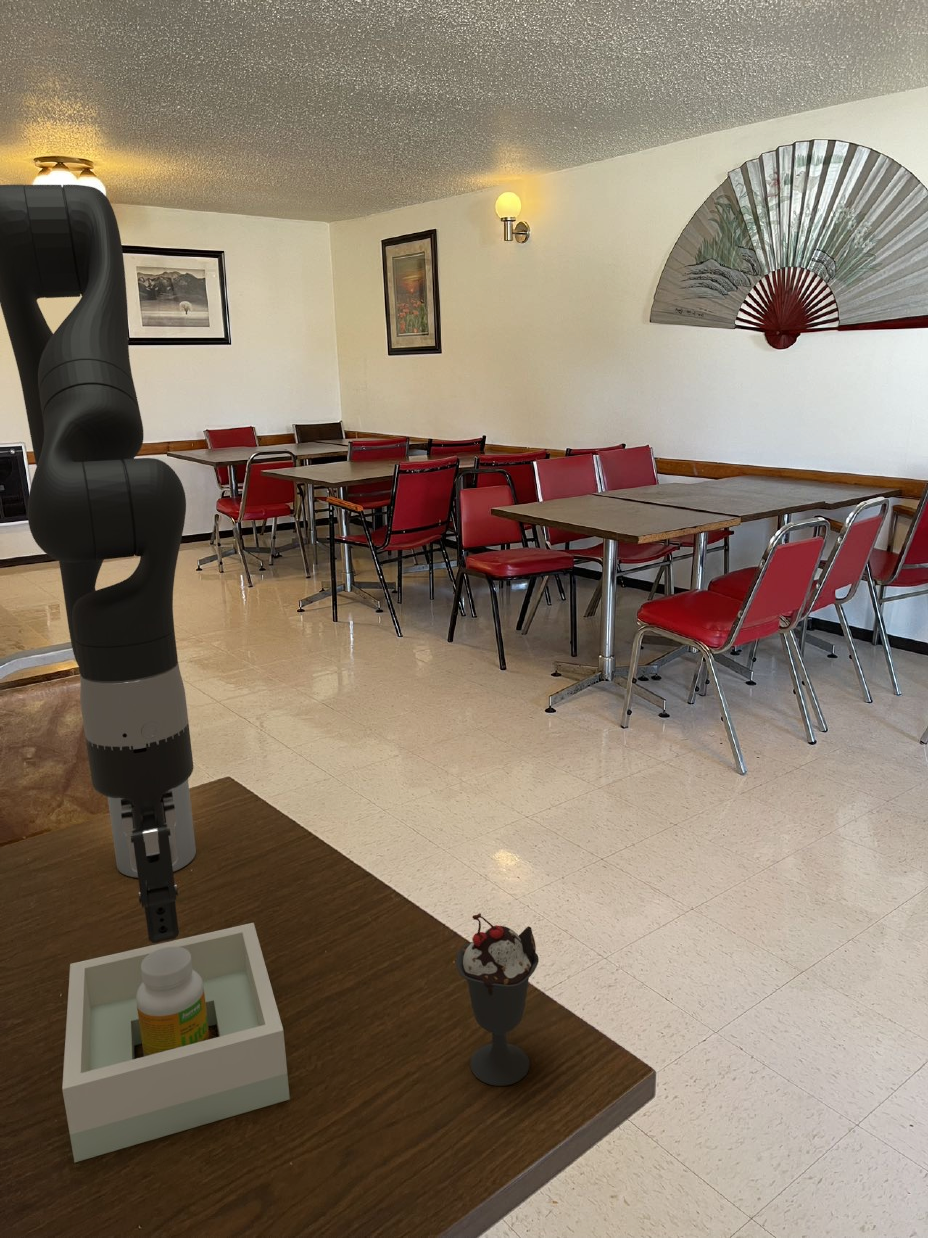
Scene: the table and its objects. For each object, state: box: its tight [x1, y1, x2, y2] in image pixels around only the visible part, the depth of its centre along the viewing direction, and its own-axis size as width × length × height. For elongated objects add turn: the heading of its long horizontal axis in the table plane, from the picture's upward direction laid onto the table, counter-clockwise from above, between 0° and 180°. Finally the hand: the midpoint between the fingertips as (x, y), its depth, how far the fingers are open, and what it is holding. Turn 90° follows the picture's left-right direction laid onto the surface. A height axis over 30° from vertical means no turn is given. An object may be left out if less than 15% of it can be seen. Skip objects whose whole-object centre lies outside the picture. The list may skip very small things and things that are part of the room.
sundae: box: [456, 913, 540, 1087], centre depth 74 cm, size 7×7×15 cm
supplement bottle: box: [136, 947, 211, 1057], centre depth 77 cm, size 5×5×10 cm
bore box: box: [61, 922, 291, 1163], centre depth 77 cm, size 16×16×6 cm
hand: (161, 909), depth 74 cm, fingers open, 8 cm apart
